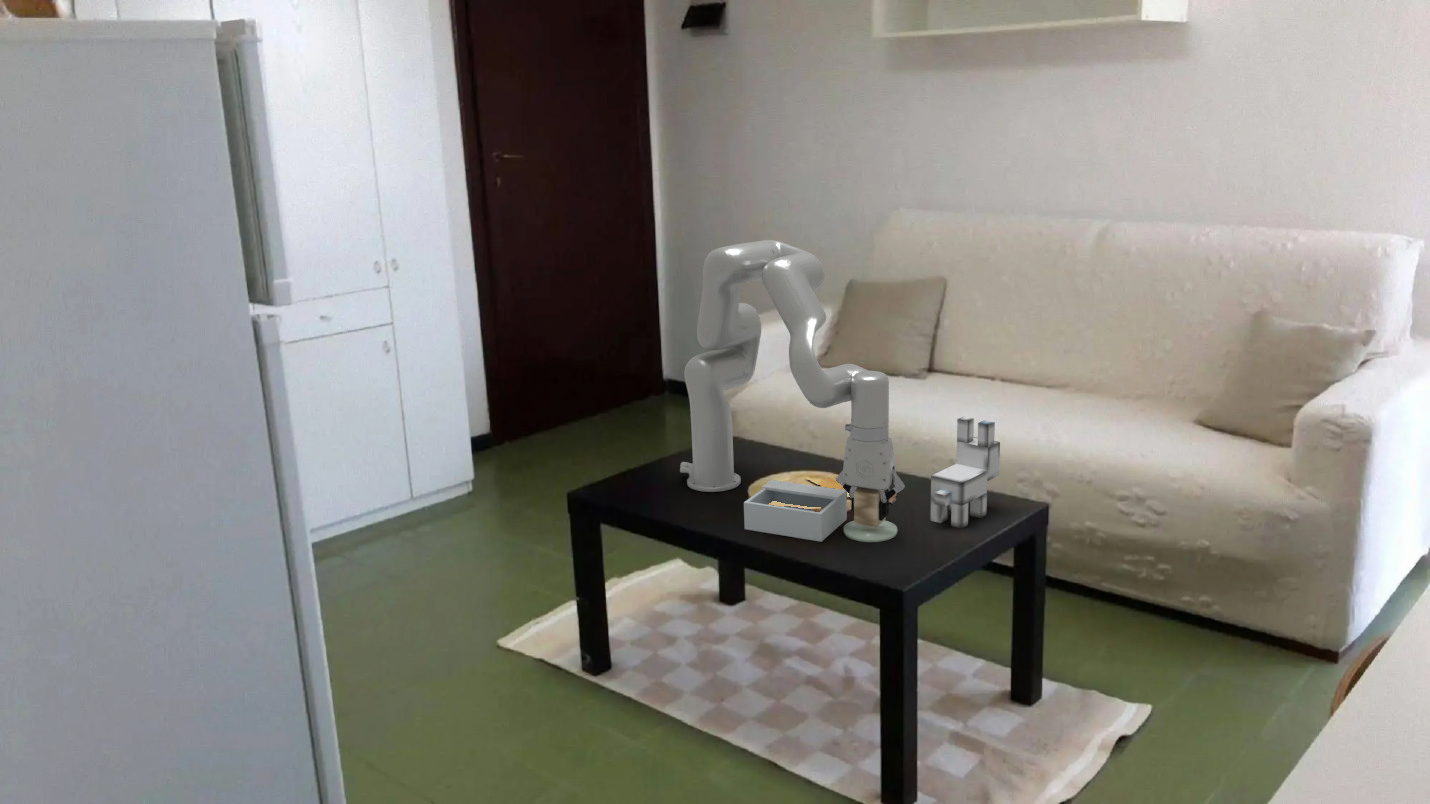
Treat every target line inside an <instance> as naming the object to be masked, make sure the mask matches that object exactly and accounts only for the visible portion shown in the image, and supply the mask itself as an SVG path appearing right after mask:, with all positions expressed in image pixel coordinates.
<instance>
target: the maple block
mask: <svg viewBox="0 0 1430 804" xmlns="http://www.w3.org/2000/svg"><path fill="white" fill-rule="evenodd" d="M880 501H881V498H880V494H879V491H878V490H875V489H868V488H861V487H859V488H857V489H856V490H855V491H854V516H853V521H854V523H855V524H861V525H867V526H874V527H878V526H879V525H880V524H881V523H882V522H883V521H884V520H885V521H886V519H887V518H886V517H887V516H886V517H885V518H884V519H883V520H882V521H881V520H879V502H880Z"/></svg>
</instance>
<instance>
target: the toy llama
mask: <svg viewBox="0 0 1430 804" xmlns="http://www.w3.org/2000/svg"><path fill="white" fill-rule="evenodd" d="M974 421H975V418H974V417H969V416H961V417H959V418H957V425H956V427H957V428H956V463H955V464H953V465H951V466H948V467H947V468H945V469H942V470H940V471H938V472H936V473H934V474H931V476H930V482H931V483H930V521H931V522H935V523H939V524H942V523H944V522H945V521H947V520H948V506H949V512H950V515H951V518H950V526H951V527H954V528H958V529H963V528H965V527H967V526H968V525H969V516H971V517H975V518H979V519H981V518H983V517H985V516H986V515H987V510H988V509H987V508H988V507H987V505H988V504H987V502H988V500H987V499H988V482H990V481H991V480H993V479H995V478H997V477H998V476H1000V465H1001V464H1000V459H1001V458H1000V456H1001V442H1000V441H997V440H995V430H996V429H995V426H996V422H995V421H991V420H982V421H980V422H978V423H977V437H976V436H974V430H975V429H974V427H975V425H974V424H975V422H974Z"/></svg>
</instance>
